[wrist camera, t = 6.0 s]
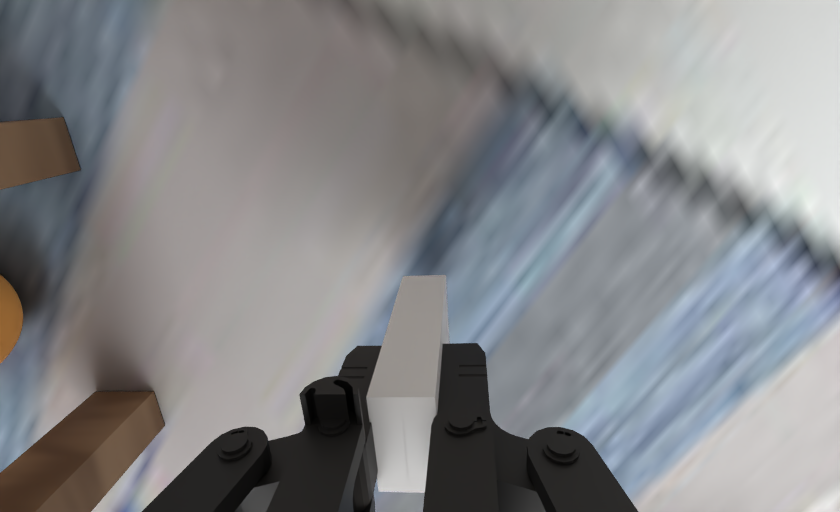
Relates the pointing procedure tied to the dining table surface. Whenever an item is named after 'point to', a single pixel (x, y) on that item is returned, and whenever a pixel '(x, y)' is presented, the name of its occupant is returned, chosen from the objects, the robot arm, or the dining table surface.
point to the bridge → (99, 414)
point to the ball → (9, 318)
